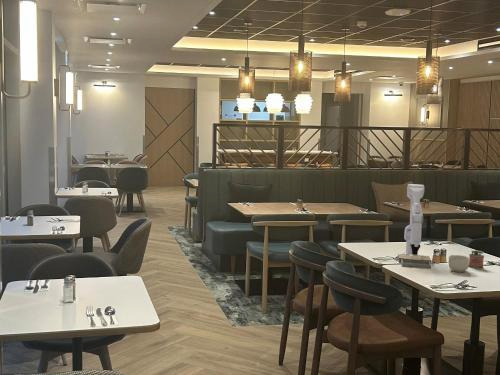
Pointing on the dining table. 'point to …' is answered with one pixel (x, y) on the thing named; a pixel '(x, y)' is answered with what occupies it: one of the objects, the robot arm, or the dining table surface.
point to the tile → (415, 257)
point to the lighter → (476, 259)
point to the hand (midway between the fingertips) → (414, 256)
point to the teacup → (458, 263)
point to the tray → (415, 263)
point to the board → (406, 257)
